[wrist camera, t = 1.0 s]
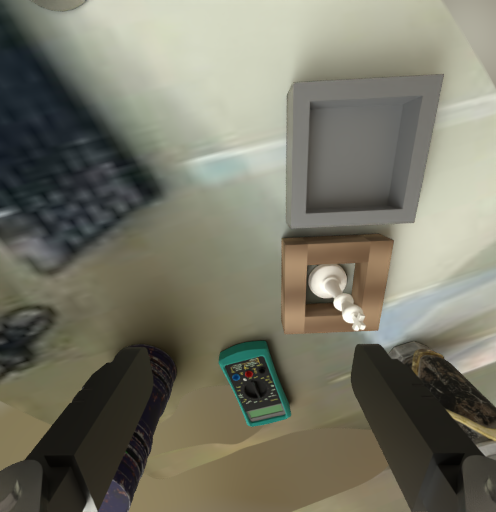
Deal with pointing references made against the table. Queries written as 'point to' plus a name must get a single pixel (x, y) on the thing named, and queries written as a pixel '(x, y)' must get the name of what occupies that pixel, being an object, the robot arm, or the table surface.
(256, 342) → the digital multimeter
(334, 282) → the chess piece
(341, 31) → the table surface
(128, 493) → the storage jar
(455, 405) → the lantern
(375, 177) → the parts tray
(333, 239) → the socket stand
